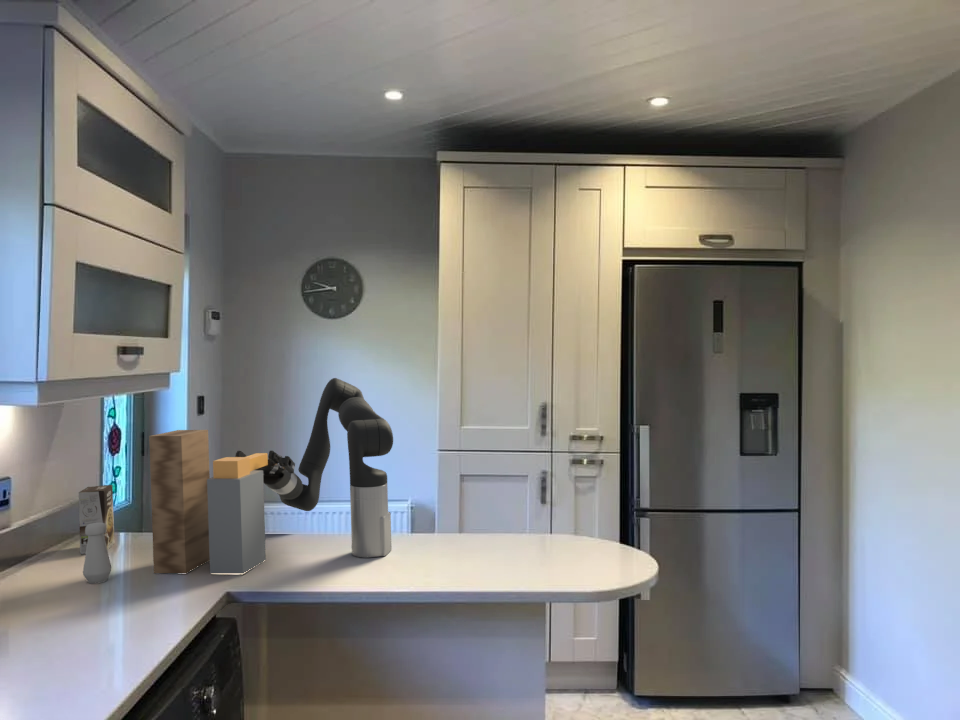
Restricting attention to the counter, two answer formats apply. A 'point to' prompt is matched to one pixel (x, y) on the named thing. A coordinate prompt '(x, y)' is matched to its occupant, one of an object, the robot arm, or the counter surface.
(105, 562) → the salt shaker
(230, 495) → the block
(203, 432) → the tall wooden block
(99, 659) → the counter surface
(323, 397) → the robot arm
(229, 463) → the orange block
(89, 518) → the coffee box
